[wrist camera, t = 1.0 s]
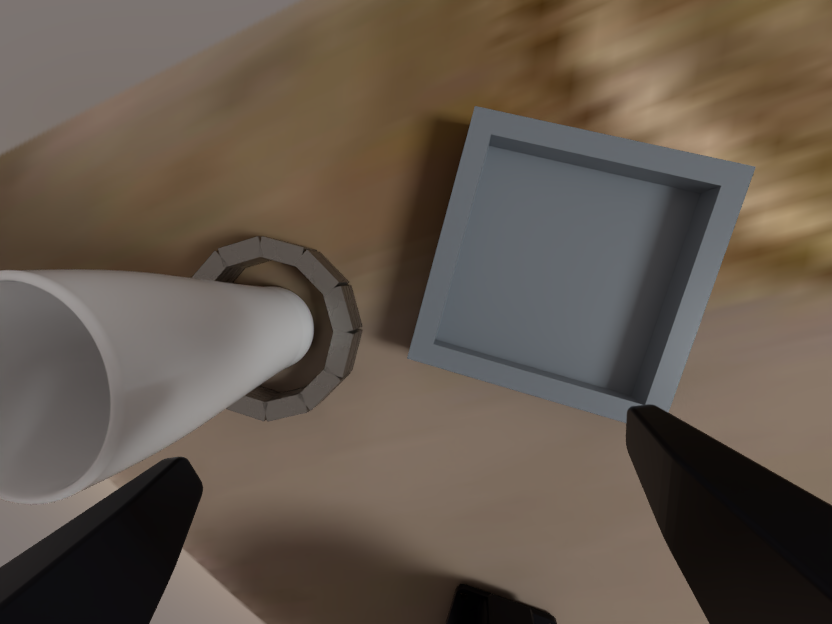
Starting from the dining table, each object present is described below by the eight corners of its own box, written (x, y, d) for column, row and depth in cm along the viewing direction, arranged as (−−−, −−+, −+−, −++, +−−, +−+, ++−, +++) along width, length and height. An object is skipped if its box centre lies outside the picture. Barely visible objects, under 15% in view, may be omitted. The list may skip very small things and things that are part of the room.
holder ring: (337, 429, 25) (326, 441, 23) (188, 381, 26) (165, 389, 24) (378, 266, 24) (370, 265, 22) (220, 224, 25) (199, 219, 23)
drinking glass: (264, 254, 25) (-34, 216, 10) (347, 314, 25) (164, 364, 10) (213, 338, 26) (-125, 415, 11) (293, 397, 26) (52, 557, 11)
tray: (639, 416, 23) (660, 433, 20) (413, 350, 24) (407, 358, 22) (721, 180, 21) (755, 166, 19) (474, 125, 23) (475, 106, 20)
